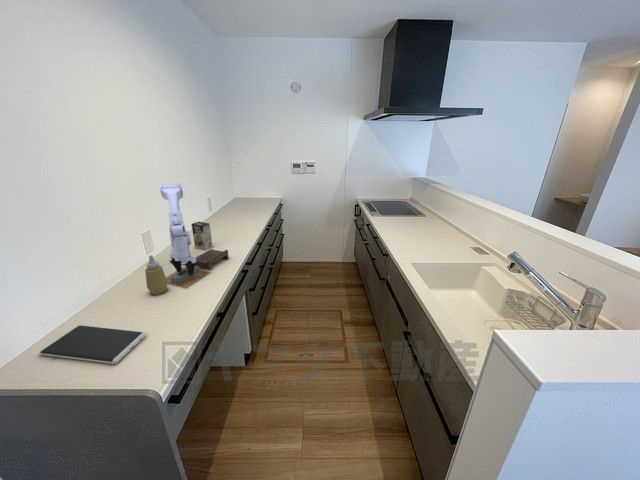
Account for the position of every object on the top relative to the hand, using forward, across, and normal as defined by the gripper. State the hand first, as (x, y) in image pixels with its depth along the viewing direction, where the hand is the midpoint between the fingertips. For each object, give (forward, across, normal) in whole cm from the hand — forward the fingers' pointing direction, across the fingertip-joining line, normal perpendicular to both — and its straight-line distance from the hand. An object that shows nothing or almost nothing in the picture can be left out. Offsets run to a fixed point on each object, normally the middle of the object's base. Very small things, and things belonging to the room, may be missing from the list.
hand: (185, 273), depth 132 cm
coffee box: (+2, -19, +34) cm, 39 cm away
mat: (+2, 0, 0) cm, 2 cm away
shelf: (+2, 0, +18) cm, 18 cm away
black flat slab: (+2, +8, -47) cm, 48 cm away
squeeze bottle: (+2, -1, -15) cm, 15 cm away
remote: (+2, 0, 0) cm, 2 cm away
